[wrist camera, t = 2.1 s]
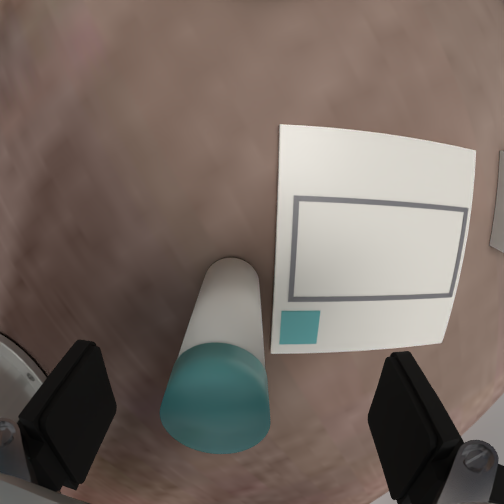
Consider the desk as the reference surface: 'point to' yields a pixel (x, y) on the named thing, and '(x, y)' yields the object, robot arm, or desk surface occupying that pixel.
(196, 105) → the desk surface
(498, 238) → the button housing
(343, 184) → the sheet
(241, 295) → the marker
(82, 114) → the desk surface
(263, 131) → the desk surface
